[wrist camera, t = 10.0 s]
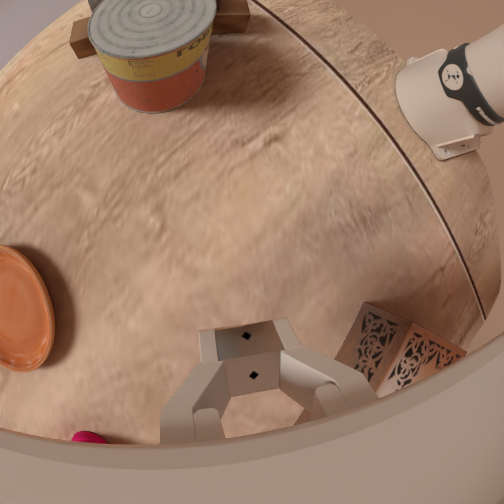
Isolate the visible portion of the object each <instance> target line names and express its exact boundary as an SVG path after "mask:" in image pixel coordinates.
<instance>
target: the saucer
mask: <svg viewBox="0 0 504 504" xmlns="http://www.w3.org/2000/svg"><path fill="white" fill-rule="evenodd" d="M54 338H55V318H54V311H53V306H52V302H51V299H50V296H49V293H48V290H47V288H46V286H45V283H44V281H43V279H42V278H41V276H40V274H39V273H38V271H37V270H36V268H35V267H34V265H33V264H32V263H31V262H30V261H29V260H28V259H27V258H26V257H25V256H24V255H23V254H22V253H20V252H19V251H17V250H16V249H14V248H11V247H8V246H4V245H0V365H2V366H3V367H5V368H7V369H9V370H12V371H16V372H29V371H33V370H35V369H37V368H38V367H40V366H41V365H42V364H43V363H44V362H45V361H46V359H47V357H48V356H49V354H50V352H51V349H52V347H53V343H54Z"/></svg>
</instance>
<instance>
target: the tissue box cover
mask: <svg viewBox="0 0 504 504" xmlns="http://www.w3.org/2000/svg"><path fill="white" fill-rule="evenodd" d="M466 353H467V352H466V351H464V350H463V349H461V348H459V347H457V346H456V345H454V344H452V343H450V342H448V341H446V340H445V339H443V338H441V337H439V336H437V335H436V334H434V333H432V332H430V331H428V330H427V329H425V328H423V327H421V326H419V325H417V324H416V323H414V322H412V321H409V320H407V319H404V318H402V317H399V316H397V315H395V314H392V313H390V312H387V311H385V310H383V309H380V308H378V307H375V306H373V305H370V304H368V303H366V302H364V304H363V306H362V308H361V310H360V312H359V314H358V316H357V318H356V320H355V322H354V324H353V326H352V328H351V330H350V332H349V333H348V335H347V337H346V339H345V341H344V343H343V345H342V347H341V348H340V350H339V352H338V354H337V356H336V357H335V359H334V360H336V361H338V362H340V363H342V364H344V365H346V366H349V367H351V368H353V369H355V370H357V371H359V372H361V373H363V375H364V376H365V378H366V379H367V381H368V382H369V384H370V385H371V387H372V388H373V390H374V392H375V393H376V395H377V396H378V398H381V397H383V396H386V395H388V394H391V393H393V392H395V391H398V390H400V389H402V388H405V387H407V386H409V385H411V384H413V383H416V382H418V381H420V380H422V379H424V378H426V377H428V376H430V375H432V374H434V373H436V372H438V371H440V370H442V369H444V368H445V367H447V366H449V365H451V364H453V363H455V362H456V361H458V360H460V359H462V358H463V357H465V355H466ZM310 417H311V413H310V412H309V411H308V410H306V409H304V410H303V412H302V413H301V415H300V416H299V418H298V419H297V421H296V422H295V424H294V425H298V424H302V423H305V422H309V421H310ZM294 425H293V426H294Z"/></svg>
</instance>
